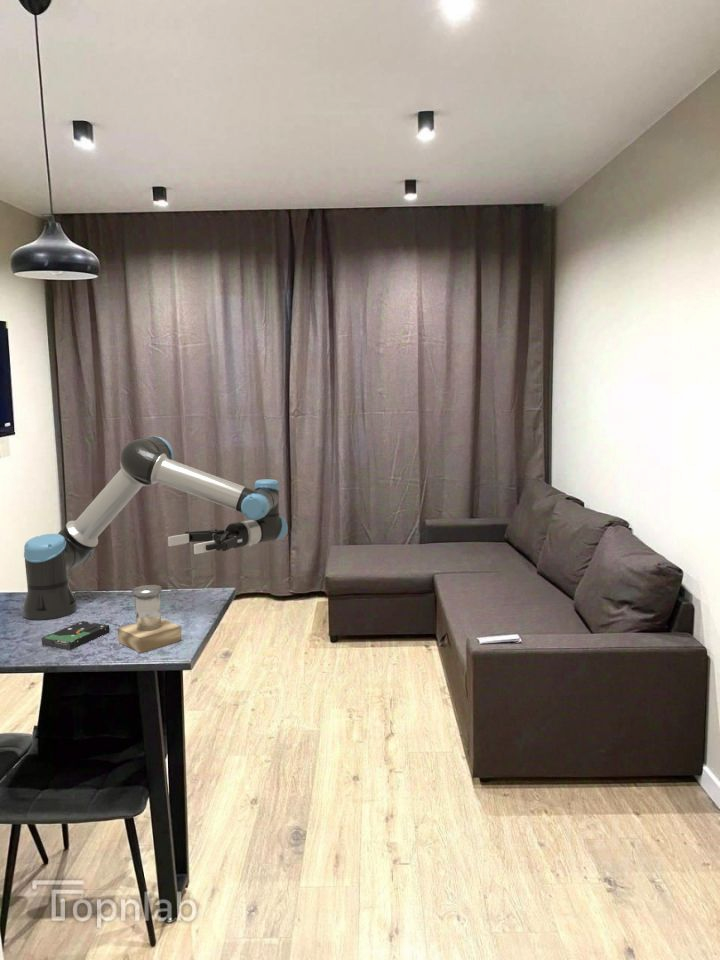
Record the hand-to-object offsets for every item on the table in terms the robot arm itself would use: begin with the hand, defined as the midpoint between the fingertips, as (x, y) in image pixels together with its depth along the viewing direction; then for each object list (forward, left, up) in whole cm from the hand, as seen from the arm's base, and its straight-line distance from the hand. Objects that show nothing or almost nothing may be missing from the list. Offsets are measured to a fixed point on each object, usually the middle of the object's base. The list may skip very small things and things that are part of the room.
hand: (181, 545), depth 203 cm
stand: (+4, -14, -23) cm, 27 cm away
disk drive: (-14, -26, -24) cm, 38 cm away
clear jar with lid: (+4, -14, -19) cm, 24 cm away
